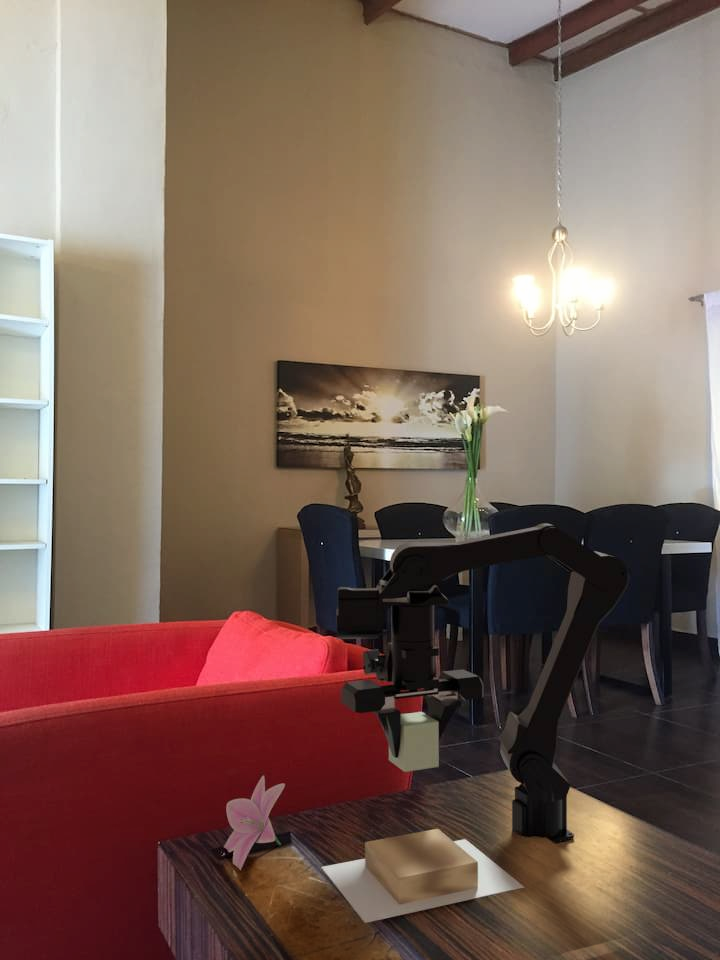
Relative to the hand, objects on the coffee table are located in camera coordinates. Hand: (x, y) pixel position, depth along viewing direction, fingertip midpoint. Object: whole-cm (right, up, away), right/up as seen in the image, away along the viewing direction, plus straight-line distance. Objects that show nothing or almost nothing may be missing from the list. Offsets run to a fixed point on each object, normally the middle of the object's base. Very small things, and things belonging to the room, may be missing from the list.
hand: (413, 754), depth 117 cm
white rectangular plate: (0, -11, -13) cm, 17 cm away
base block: (0, -11, -13) cm, 17 cm away
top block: (0, -1, 0) cm, 1 cm away
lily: (-21, -12, -6) cm, 25 cm away
